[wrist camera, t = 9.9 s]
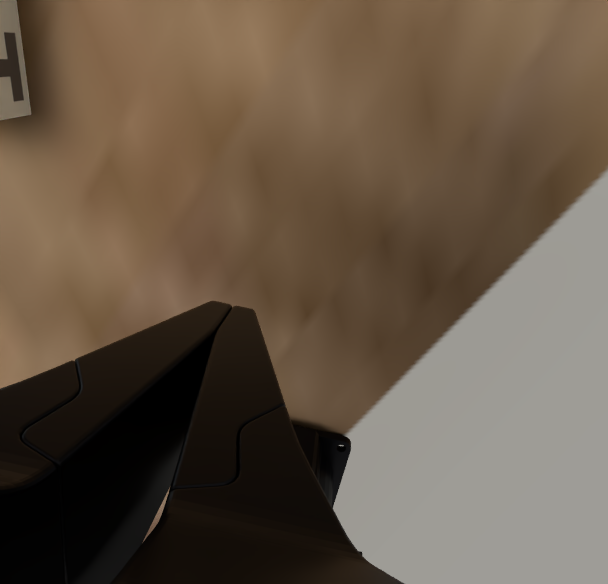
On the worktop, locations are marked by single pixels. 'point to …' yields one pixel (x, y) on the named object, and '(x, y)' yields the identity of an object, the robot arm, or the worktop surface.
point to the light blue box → (12, 64)
